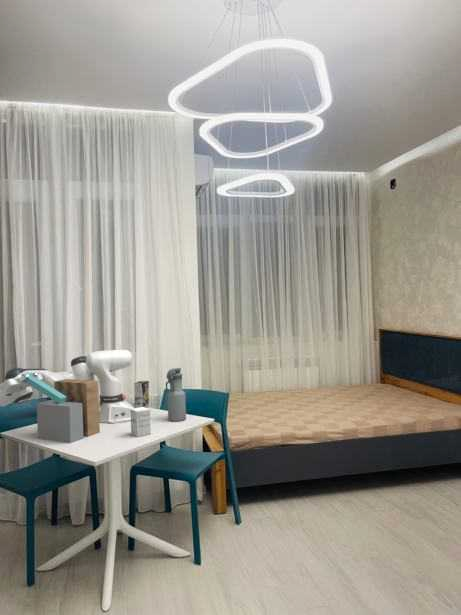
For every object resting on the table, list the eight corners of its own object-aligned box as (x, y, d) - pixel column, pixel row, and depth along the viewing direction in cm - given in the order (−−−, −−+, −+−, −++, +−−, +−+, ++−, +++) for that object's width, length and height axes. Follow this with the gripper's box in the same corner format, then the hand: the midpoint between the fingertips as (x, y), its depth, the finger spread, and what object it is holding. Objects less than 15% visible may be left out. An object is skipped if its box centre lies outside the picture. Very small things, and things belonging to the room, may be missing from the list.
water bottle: (176, 423, 245) (175, 370, 245) (163, 420, 251) (162, 369, 251) (189, 418, 253) (188, 368, 253) (176, 416, 259) (175, 367, 259)
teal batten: (20, 379, 231) (22, 373, 231) (27, 378, 235) (28, 372, 234) (59, 404, 220) (60, 398, 219) (65, 402, 224) (66, 396, 223)
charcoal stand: (37, 438, 224) (36, 403, 224) (51, 433, 231) (50, 400, 231) (70, 443, 213) (69, 406, 213) (83, 438, 220) (82, 403, 221)
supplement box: (130, 434, 225) (129, 408, 225) (144, 431, 229) (143, 406, 229) (137, 437, 219) (136, 411, 219) (151, 434, 223) (150, 408, 223)
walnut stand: (55, 432, 233) (54, 381, 233) (68, 428, 240) (66, 379, 240) (88, 436, 223) (86, 383, 223) (99, 432, 230) (98, 380, 230)
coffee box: (144, 409, 281) (143, 383, 281) (134, 409, 283) (133, 383, 283) (149, 406, 290) (149, 380, 290) (140, 406, 292) (139, 380, 292)
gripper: (35, 389, 244) (51, 377, 239) (0, 396, 226) (16, 383, 221) (31, 378, 246) (46, 366, 240) (-4, 385, 228) (11, 372, 222)
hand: (31, 374), depth 230 cm, fingers closed on teal batten, 4 cm apart
